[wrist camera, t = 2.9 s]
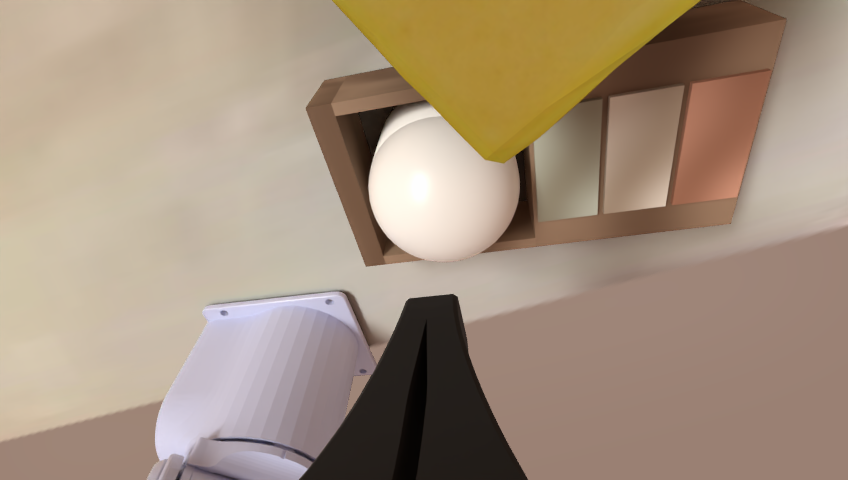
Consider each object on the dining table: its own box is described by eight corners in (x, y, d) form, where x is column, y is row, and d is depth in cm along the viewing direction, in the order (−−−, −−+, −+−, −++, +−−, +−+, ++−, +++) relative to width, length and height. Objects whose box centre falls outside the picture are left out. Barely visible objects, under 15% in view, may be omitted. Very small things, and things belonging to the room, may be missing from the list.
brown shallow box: (374, 228, 24) (365, 269, 21) (324, 80, 19) (304, 110, 16) (699, 185, 21) (732, 226, 18) (738, -1, 16) (790, 20, 14)
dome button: (396, 214, 22) (381, 300, 18) (363, 100, 19) (332, 171, 14) (516, 197, 21) (533, 284, 17) (505, 74, 18) (523, 141, 13)
